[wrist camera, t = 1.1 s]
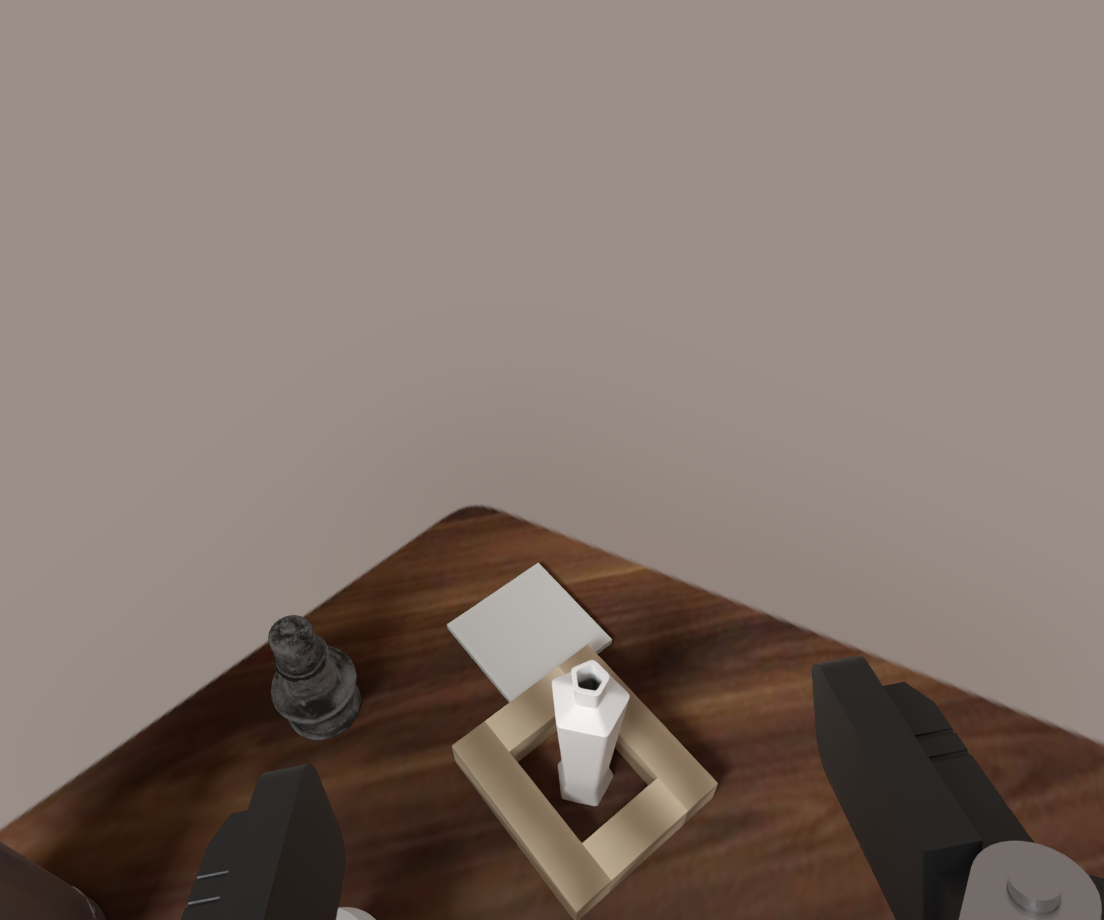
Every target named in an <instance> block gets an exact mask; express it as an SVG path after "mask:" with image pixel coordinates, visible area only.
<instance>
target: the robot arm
mask: <svg viewBox="0 0 1104 920" xmlns="http://www.w3.org/2000/svg"><path fill="white" fill-rule="evenodd" d="M812 681H813V695H814V710H815V725H816V738H817V745H818V750H819V754H820V758H821V761H822V764H823V767H824V770H825V773H826V775H827V778H828V780H829V782H830V784H831V786H832V788H833V790H834V792H835V794H836V797H837V799H838V801H839V803H840V805H841V807H842V809H843V811H844V813H845V815H846V817H847V819H848V821H849V823H850V825H851V828H852V830H853V832H854V834H855V836H856V838H857V840H858V842H859V844H860V846H861V848H862V850H863V852H864V854H865V856H866V859H867V861H868V863H869V865H870V867H871V869H872V871H873V873H874V875H875V877H876V879H877V881H878V883H879V885H880V887H881V890H882V892H883V894H884V896H885V898H886V900H887V902H888V904H889V906H890V908H891V910H892V912H893V914H894V916H895V918H896V920H1104V879H1103V878H1099V877H1095V876H1091V875H1088V874H1087V873H1086V872H1085V871H1084V870H1083V869H1082V868H1081V867H1080V866H1079V865H1077V864H1076V863H1075V862H1074V861H1073V860H1071V859H1070V858H1068V857H1066V856H1065V855H1063V854H1062V853H1060V852H1058V851H1056V850H1054V849H1052V848H1049V847H1046V846H1043V845H1040V844H1036V843H1035V842H1034V841H1033V840H1032V839H1031V838H1030V836H1029V835H1028V834H1027V833H1026V831H1025V830H1024V828H1023V827H1022V825H1021V824H1020V823H1019V821H1018V820H1017V818H1016V817H1015V816H1014V814H1013V813H1012V811H1011V810H1010V809H1009V807H1008V806H1007V804H1006V803H1005V802H1004V800H1003V799H1002V797H1001V796H1000V795H999V793H998V792H997V790H996V789H995V788H994V786H993V785H992V783H991V782H990V780H989V779H988V778H987V776H986V775H985V773H984V772H983V771H982V769H981V768H980V766H979V765H978V764H977V762H976V761H975V759H974V758H973V757H972V755H969V754H968V751H967V748H966V747H965V745H964V744H963V743H962V741H961V740H960V738H959V737H958V735H957V734H956V733H953V730H952V727H951V726H950V724H949V723H948V721H947V720H946V719H945V717H944V716H943V714H942V713H941V712H940V710H939V709H938V707H937V706H936V705H935V703H934V702H933V701H931V700H930V699H929V698H927V697H926V696H924V695H923V694H921V693H920V692H918V691H917V690H915V689H914V688H912V687H911V686H909V685H908V684H907V683H905V682H902V683H896V684H891V685H886V686H882V684H881V683H880V681H879V680H878V678H877V677H876V675H875V673H874V672H873V670H872V669H871V667H870V666H869V664H868V663H867V661H866V660H865V659H864V658H863V657H862V656H854V657H849V658H844V659H839V660H834V661H829V662H824V663H818V664H814V665H813V668H812ZM344 871H345V851H344V843H343V838H342V834H341V830H340V828H339V825H338V823H337V820H336V818H335V815H334V813H333V810H332V808H331V805H330V803H329V800H328V798H327V795H326V793H325V790H324V788H323V785H322V783H321V781H320V778H319V776H318V773H317V771H316V769H315V768H314V766H313V765H311V764H306V765H301V766H295V767H290V768H285V769H280V770H275V771H270V772H265V773H263V774H262V775H261V776H260V777H259V779H258V781H257V784H256V787H255V790H254V793H253V797H252V800H251V803H250V806H249V809H248V811H243V812H238V813H233V814H231V815H230V816H229V818H228V819H227V820H226V821H225V823H224V824H223V825H222V827H221V828H220V829H219V831H218V832H217V833H216V835H215V836H214V837H213V838H212V840H211V841H210V842H209V844H208V846H207V849H206V852H205V855H204V857H203V860H202V863H201V866H200V868H199V871H198V874H197V878H198V879H197V881H196V882H194V885H193V888H192V891H191V893H190V896H189V899H188V908H185V910H184V913H183V916H182V918H181V920H336V917H337V911H338V906H339V900H340V894H341V889H342V883H343V877H344ZM0 920H107V919H106V917H105V915H104V914H103V912H102V910H101V908H100V907H99V906H98V905H97V904H96V903H95V902H94V901H93V900H92V899H91V898H89V897H88V896H86V895H85V894H84V893H82V892H81V891H80V890H78V889H77V888H75V887H74V886H70V885H69V884H67V883H66V882H64V881H63V880H61V879H60V878H58V877H56V876H55V875H53V874H52V873H50V872H48V871H47V870H45V869H44V868H42V867H40V866H39V865H37V864H36V863H34V862H32V861H31V860H29V859H28V858H26V857H24V856H23V855H21V854H20V853H18V852H16V851H15V850H13V849H12V848H10V847H8V846H7V845H5V844H4V843H2V842H0Z"/></svg>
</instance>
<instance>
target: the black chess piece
mask: <svg viewBox="0 0 1104 920" xmlns="http://www.w3.org/2000/svg"><path fill="white" fill-rule="evenodd" d="M268 638H269V645H270V647H271V649H272V651H273V653H274V660H273V662H274V668H275V670H276V673H275V676H274V678H273V680H272V686H271V697H272V701H273V704H274V706H275V708H276V710H277V711H278V712H279V713H280V714H281V715H282V716H283V717H284V718H286V719H288V720H289V722H290V724H291V727H292V728H293V729H294V730H295V731H296V732H297V733H298V734H299V735H301V736H303V737H304V738H307V739H312V740H325V739H329V738H332V737H335V736H337V735H338V734H340V733H342V732H344V731H345V730H346V729H347V728H348V727H349V726H350V725H351V724H352V723H353V721H354V720H355V718H356V717H357V715H358V712H359V709H360V704H361V696H360V690H359V688H358V686H357V685H356V678H357V676H356V670H355V666H354V664H353V662H352V660H351V659H350V657H349V656H348V655H347V654H346V653H344V652H343V651H341V650H340V649H338V648H336V647H332V646H327V644H326V643H325V641H324V640H323V639H322V638H321V637H320V636H318V635H316V634H315V632H314V629H313V627H312V625H311V624H310V623H309V622H308V621H307V620H306V619H305V618H303V617H301V616H296V615H291V616H286V617H283V618H281V619H279V620H278V621H277V622H276V623H275V624H274V625H273V626H272V627H271V629H270V631H269V636H268Z"/></svg>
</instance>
